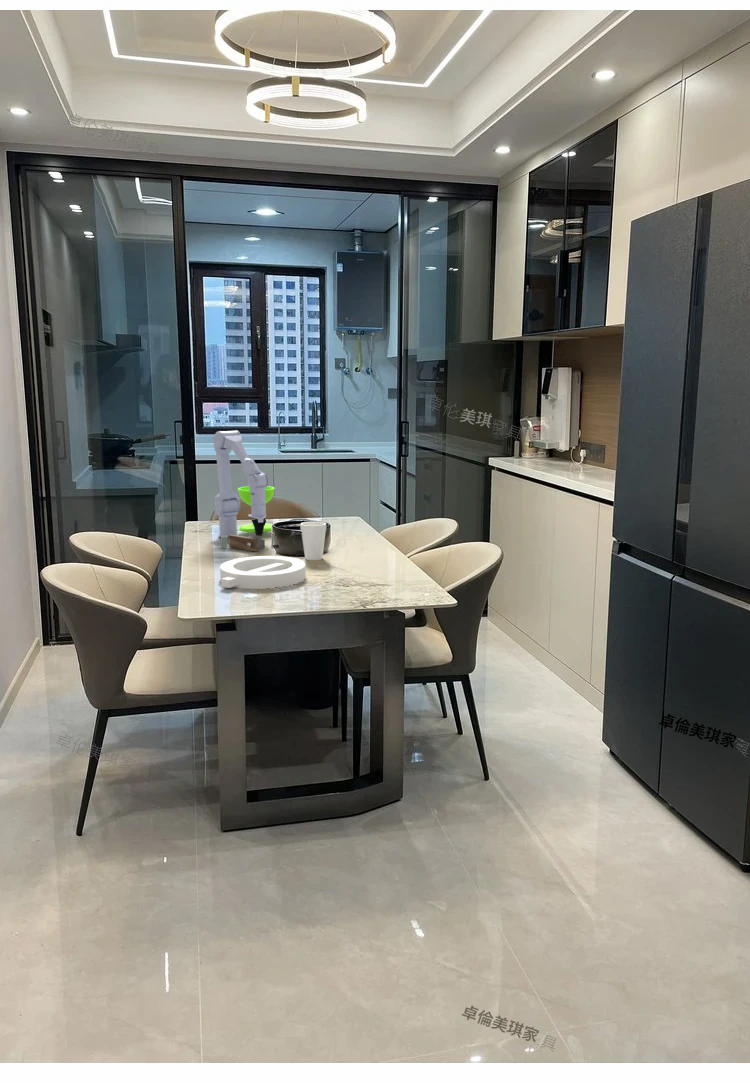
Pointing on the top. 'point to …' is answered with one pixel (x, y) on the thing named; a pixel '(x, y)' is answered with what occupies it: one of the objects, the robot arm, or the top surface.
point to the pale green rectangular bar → (224, 541)
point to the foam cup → (313, 539)
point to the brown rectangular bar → (243, 542)
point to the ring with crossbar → (262, 572)
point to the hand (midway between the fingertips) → (259, 537)
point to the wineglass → (246, 497)
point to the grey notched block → (259, 541)
